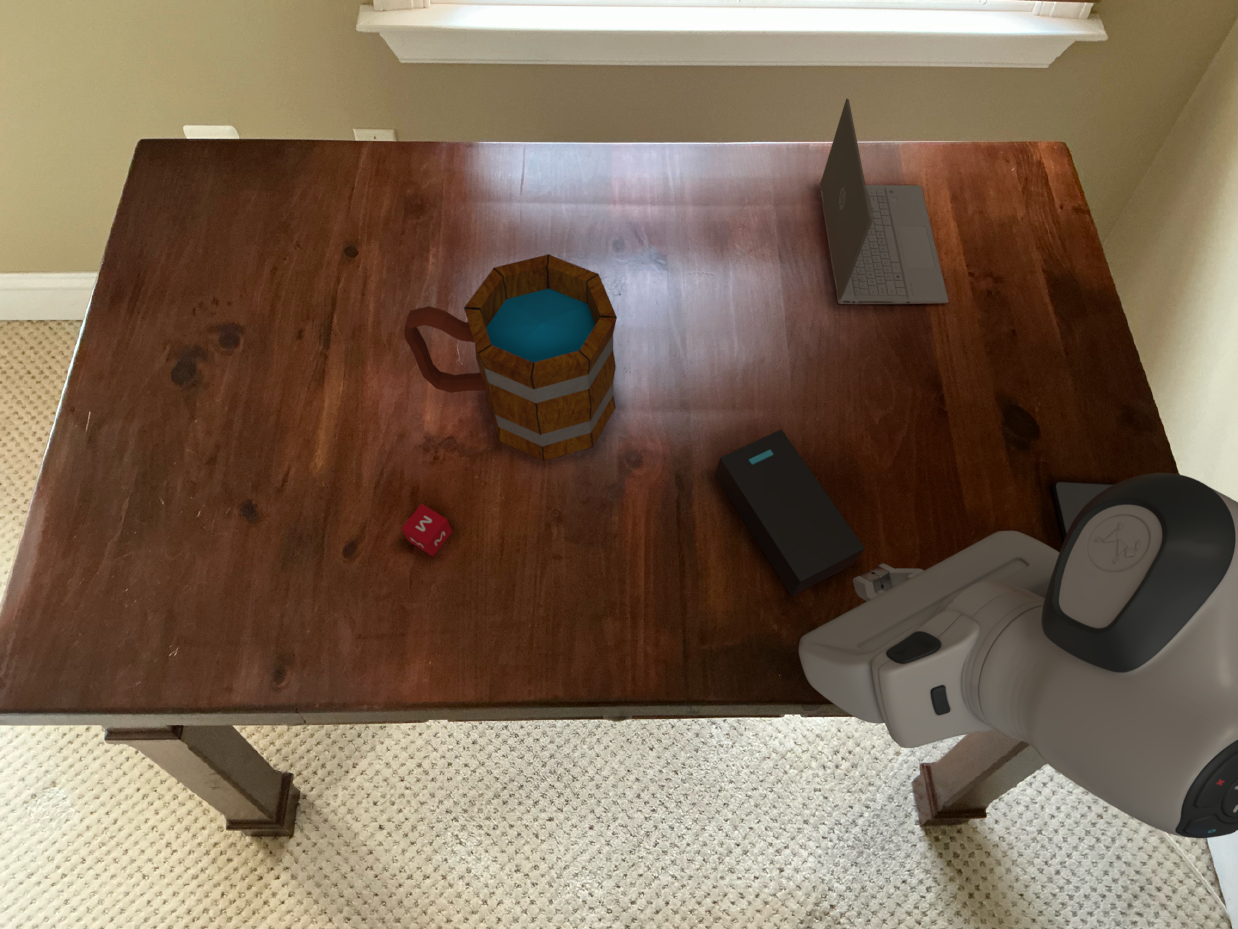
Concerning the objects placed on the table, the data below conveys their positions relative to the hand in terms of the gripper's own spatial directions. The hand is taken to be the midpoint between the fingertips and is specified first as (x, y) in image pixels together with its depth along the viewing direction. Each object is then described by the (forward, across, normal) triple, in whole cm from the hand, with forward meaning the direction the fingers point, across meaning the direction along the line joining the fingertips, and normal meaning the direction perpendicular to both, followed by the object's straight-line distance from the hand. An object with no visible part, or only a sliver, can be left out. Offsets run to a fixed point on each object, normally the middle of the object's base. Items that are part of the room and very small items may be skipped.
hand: (868, 578), depth 67 cm
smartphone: (+2, -26, +12) cm, 28 cm away
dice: (+24, +30, -10) cm, 40 cm away
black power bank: (+8, -1, +3) cm, 8 cm away
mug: (+31, +16, -17) cm, 39 cm away
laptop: (+32, -30, -18) cm, 47 cm away
